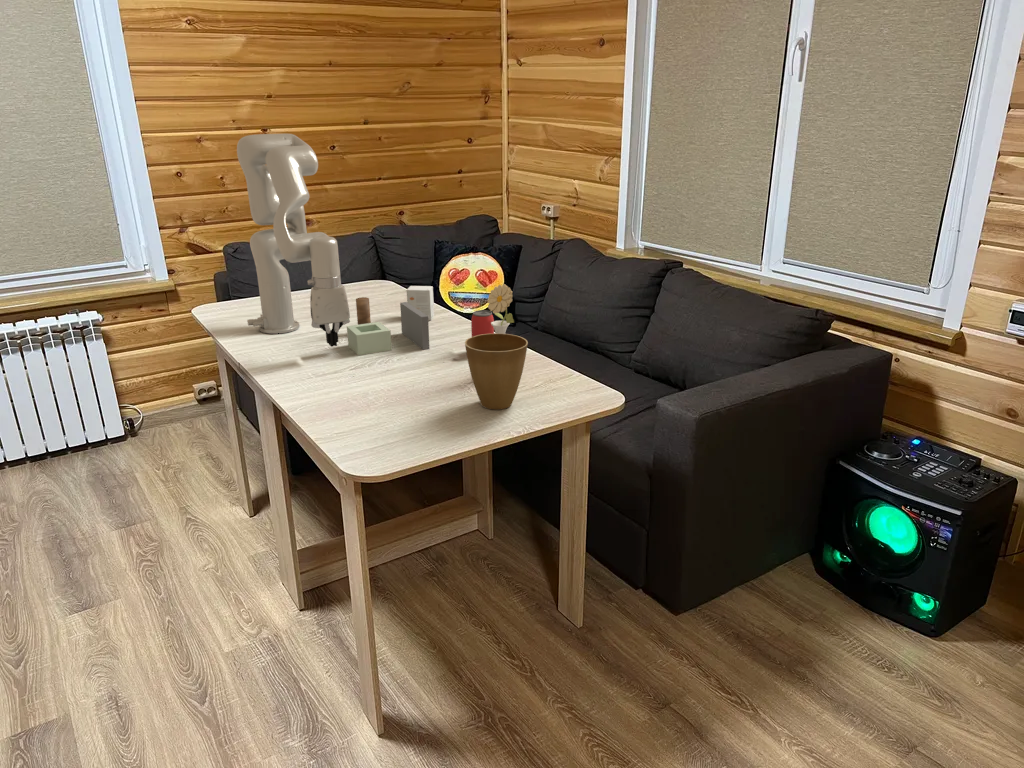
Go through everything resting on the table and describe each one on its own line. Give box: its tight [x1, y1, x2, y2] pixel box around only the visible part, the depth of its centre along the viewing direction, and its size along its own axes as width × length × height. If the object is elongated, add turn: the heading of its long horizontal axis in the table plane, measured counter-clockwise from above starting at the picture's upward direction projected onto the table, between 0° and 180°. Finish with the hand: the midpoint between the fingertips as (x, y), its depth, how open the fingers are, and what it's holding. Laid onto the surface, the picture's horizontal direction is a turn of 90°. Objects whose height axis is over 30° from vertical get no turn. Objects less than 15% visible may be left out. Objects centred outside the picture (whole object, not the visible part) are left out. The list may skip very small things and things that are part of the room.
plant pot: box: [464, 332, 529, 410], centre depth 180 cm, size 15×15×16 cm
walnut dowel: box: [355, 296, 372, 325], centre depth 232 cm, size 4×4×12 cm
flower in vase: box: [487, 283, 515, 334], centre depth 199 cm, size 13×11×25 cm
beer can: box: [470, 309, 495, 337], centre depth 217 cm, size 7×7×12 cm
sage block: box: [346, 321, 393, 356], centre depth 219 cm, size 10×10×6 cm
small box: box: [406, 285, 435, 321], centre depth 251 cm, size 8×6×10 cm
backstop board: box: [399, 301, 430, 351], centre depth 220 cm, size 22×18×11 cm
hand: (332, 344), depth 214 cm, fingers closed
